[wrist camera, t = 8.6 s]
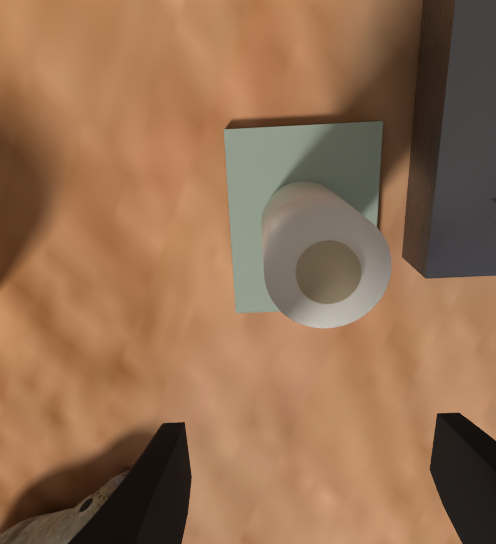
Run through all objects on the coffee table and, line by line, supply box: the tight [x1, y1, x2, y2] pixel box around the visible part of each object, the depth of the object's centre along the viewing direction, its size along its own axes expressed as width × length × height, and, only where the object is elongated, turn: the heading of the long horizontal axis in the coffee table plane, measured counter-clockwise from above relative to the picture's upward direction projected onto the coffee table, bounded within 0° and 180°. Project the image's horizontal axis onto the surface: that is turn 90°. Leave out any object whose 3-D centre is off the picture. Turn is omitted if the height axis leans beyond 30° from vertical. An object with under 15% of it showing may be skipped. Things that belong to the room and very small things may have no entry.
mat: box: [224, 121, 383, 313], centre depth 20 cm, size 9×7×1 cm
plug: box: [261, 181, 391, 328], centre depth 16 cm, size 4×4×7 cm
